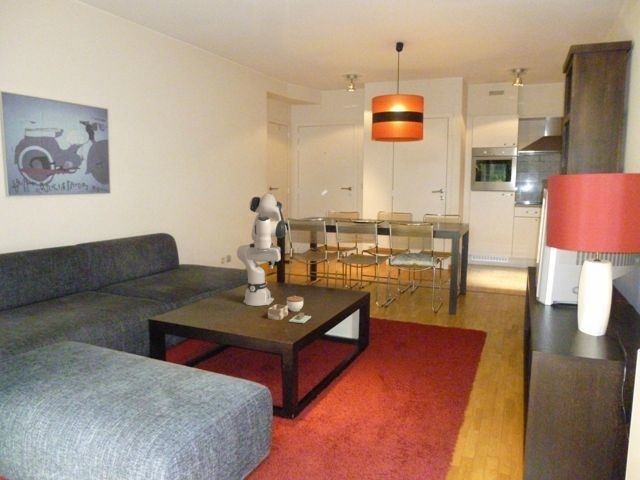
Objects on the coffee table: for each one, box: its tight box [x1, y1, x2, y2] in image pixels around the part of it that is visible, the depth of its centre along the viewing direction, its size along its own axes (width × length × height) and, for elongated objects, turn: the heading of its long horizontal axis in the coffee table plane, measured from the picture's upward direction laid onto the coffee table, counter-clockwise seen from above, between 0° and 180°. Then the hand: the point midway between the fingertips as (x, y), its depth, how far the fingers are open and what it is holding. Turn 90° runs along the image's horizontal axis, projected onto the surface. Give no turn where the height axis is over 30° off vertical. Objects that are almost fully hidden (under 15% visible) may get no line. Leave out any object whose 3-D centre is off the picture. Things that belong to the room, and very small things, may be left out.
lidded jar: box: [286, 295, 305, 312], centre depth 312 cm, size 11×11×9 cm
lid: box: [288, 312, 312, 324], centre depth 290 cm, size 13×9×4 cm
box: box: [267, 303, 289, 321], centre depth 296 cm, size 12×8×6 cm, turn 162°
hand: (263, 267), depth 291 cm, fingers open, 8 cm apart
